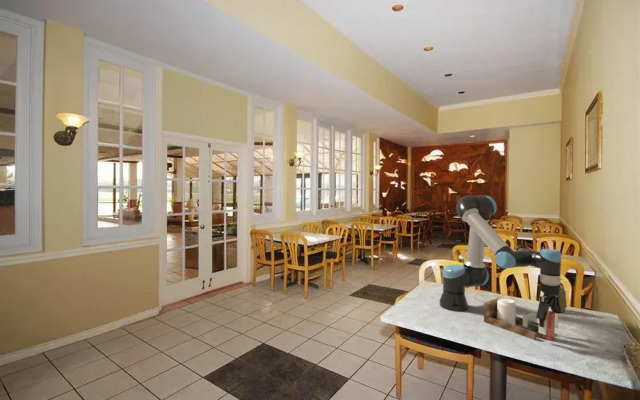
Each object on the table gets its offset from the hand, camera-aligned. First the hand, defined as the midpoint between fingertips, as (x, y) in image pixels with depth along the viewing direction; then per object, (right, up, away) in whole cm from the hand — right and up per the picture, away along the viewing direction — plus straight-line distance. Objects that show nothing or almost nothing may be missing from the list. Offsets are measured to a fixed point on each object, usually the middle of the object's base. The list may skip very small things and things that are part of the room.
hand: (548, 330), depth 146 cm
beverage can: (-10, -3, +16) cm, 19 cm away
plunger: (-2, -3, +3) cm, 5 cm away
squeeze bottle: (+29, -3, +33) cm, 44 cm away
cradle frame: (-8, -3, +12) cm, 15 cm away
